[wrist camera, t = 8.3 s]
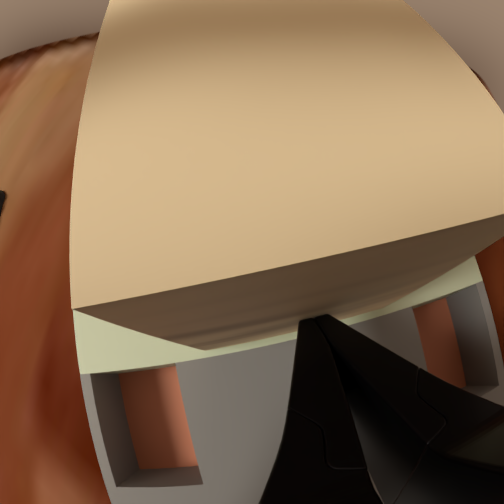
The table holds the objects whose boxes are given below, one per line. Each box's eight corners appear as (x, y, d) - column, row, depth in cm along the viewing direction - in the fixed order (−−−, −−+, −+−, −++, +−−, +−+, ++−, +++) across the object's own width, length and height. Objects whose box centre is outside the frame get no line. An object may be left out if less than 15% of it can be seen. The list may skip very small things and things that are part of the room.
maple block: (382, 308, 12) (552, 201, 3) (204, 350, 12) (71, 308, 3) (324, 142, 15) (362, -32, 6) (176, 170, 14) (112, -6, 6)
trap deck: (476, 528, 10) (506, 545, 7) (190, 607, 9) (179, 638, 6) (393, 159, 18) (412, 123, 15) (101, 216, 18) (73, 186, 14)
